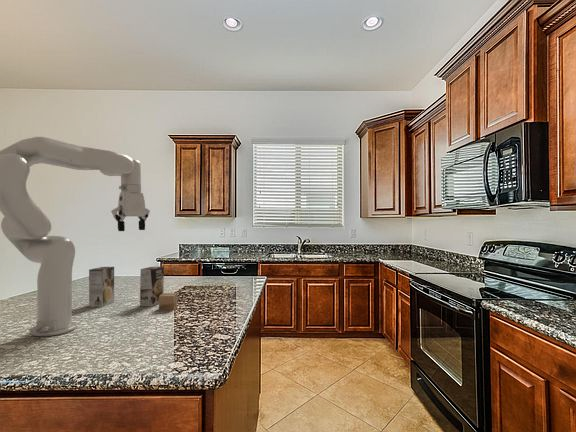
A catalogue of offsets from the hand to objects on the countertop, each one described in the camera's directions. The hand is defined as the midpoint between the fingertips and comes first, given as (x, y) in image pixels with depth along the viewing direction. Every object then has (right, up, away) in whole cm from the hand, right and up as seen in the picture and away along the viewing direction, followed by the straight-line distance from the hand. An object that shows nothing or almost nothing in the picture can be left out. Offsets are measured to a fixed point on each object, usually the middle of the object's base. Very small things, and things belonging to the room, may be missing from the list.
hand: (131, 230), depth 139 cm
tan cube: (+15, -33, +1) cm, 36 cm away
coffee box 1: (-17, -33, +8) cm, 38 cm away
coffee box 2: (+5, -33, +9) cm, 35 cm away
